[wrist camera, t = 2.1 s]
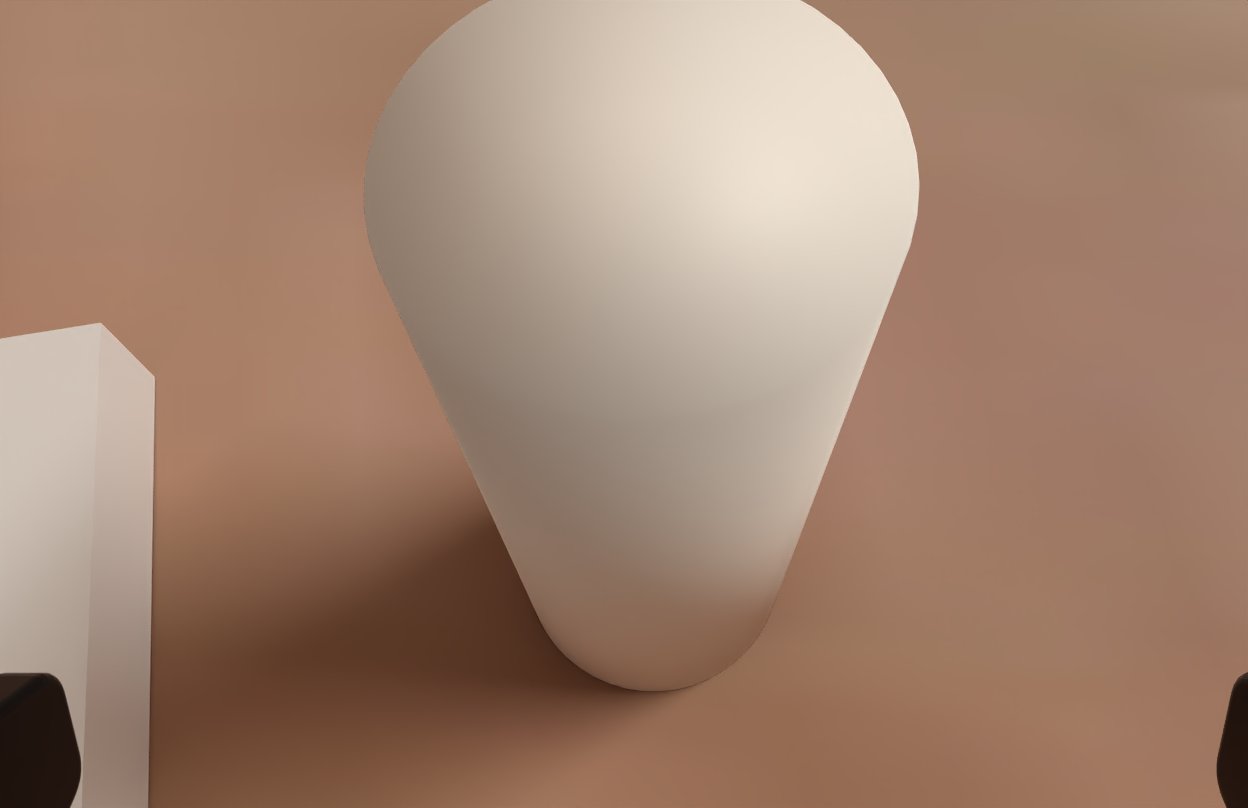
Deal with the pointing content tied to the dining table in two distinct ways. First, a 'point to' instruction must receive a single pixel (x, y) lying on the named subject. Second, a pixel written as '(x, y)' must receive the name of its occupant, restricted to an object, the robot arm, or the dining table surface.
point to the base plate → (81, 543)
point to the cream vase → (644, 296)
